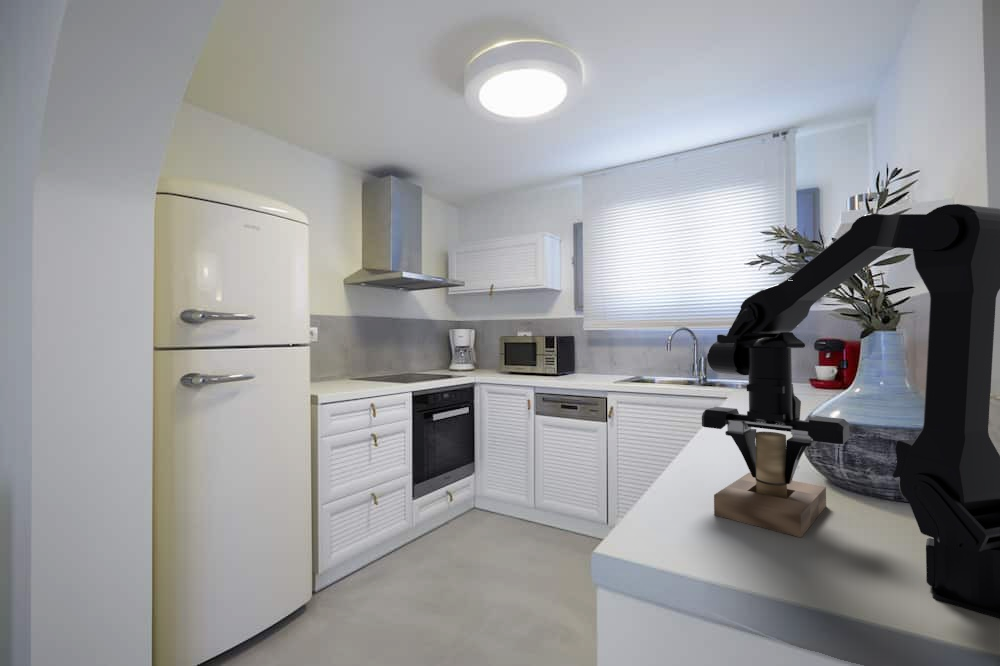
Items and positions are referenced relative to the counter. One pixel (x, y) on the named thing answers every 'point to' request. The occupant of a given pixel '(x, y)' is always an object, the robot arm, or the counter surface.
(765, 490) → the oak peg
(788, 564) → the counter surface
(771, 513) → the walnut board
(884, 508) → the counter surface
